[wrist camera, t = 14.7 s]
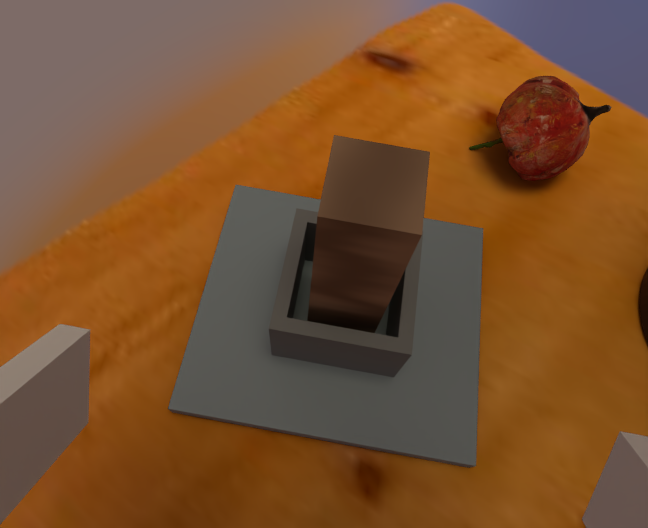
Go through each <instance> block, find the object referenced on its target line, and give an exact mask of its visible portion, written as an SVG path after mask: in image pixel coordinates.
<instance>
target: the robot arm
mask: <svg viewBox="0 0 648 528" xmlns="http://www.w3.org/2000/svg"><path fill="white" fill-rule="evenodd" d="M640 315H641V321H642V326H643V330H644V333H645V336H646V339H647V341H648V270H647V272H646V274H645V276H644V279H643V282H642V286H641V291H640ZM89 359H90V330H89V329H84V328H79V327H74V326H68V325H63V324H59V325H58V326H56V327H55V328H54V329H52V330H51V331H49V332H48V333H47V334H45V335H44V336H43V337H41V338H40V339H39V340H37V341H36V342H34V343H33V344H32V345H30V346H29V347H28V348H26V349H25V350H23V351H22V352H21V353H19V354H18V355H17V356H15V357H14V358H12V359H11V360H10V361H8V362H7V363H6V364H4V365H3V366H1V367H0V524H1V523H2V522H3V521H4V520H5V518H6V517H7V516H8V515H9V514H10V513H11V512H12V510H13V509H14V508H15V507H16V506H17V505H18V503H19V502H20V501H21V500H22V499H23V498H24V496H25V495H26V494H27V493H28V492H29V491H30V490H31V488H32V487H33V486H34V485H35V484H36V483H37V481H38V480H39V479H40V478H41V477H42V476H43V474H44V473H45V472H46V471H47V470H48V469H49V467H50V466H51V465H52V464H53V463H54V462H55V461H56V459H57V458H58V457H59V456H60V455H61V454H62V452H63V451H64V450H65V449H66V448H67V447H68V445H69V444H70V443H71V442H72V441H73V440H74V439H75V437H76V436H77V435H78V434H79V433H80V432H81V430H82V429H83V428H84V427H85V426H86V425H87V423H88V410H89ZM582 520H583V522H584V524H585V526H586V528H648V437H647V436H642V435H637V434H631V433H626V432H621V431H620V432H619V435H618V437H617V439H616V442H615V444H614V446H613V449H612V451H611V453H610V456H609V458H608V460H607V463H606V465H605V467H604V469H603V472H602V474H601V476H600V479H599V481H598V483H597V486H596V488H595V490H594V493H593V495H592V497H591V500H590V502H589V504H588V507H587V509H586V511H585V514H584V516H583V518H582Z"/></svg>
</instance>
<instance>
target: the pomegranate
mask: <svg viewBox="0 0 648 528" xmlns="http://www.w3.org/2000/svg"><path fill="white" fill-rule="evenodd" d="M610 109H611V107H610V106H609V105H604V106H600V107H587V106H585V105H583V104H582V103H581V102H580V100H579V94H578V93H577V92H576V91H575V90H574V89H573V88H572V87H571V86H569V85H568V84H567V83H565V82H563V81H561V80H560V79H558V78H556V77H554V76H539V77H535V78H532V79H529V80H527V81H525V82H524V83H523V84H522V85H520V86H519V87H518V88H517V89H516V90H515V91H514V92H512V93H511V94H510V95H509V96H508V97H507V98H506V99H505V101H504V103H503V104H502V106H501V109H500V112H499V115H498V117H497V120H496V121H497V126H498V129H499V131H500V135H501V138H500V139H497V140H494V141H491V142H487V143H483V144H479V145H475V146H472V147H469V149H470V150H475V149H480V148H483V147H492V146H493V145H495V144H498V143H502V142H504V145H505V147H506V148H507V150H508V153H509V158H508V161H509V164H510V165H511V167H512V168H513V169H515V171H517V173H518V175H519V176H520V178H521V179H524V180H532V181H534V180H541V179H548V178H551V177H554V176H557V175H558V174H560V173H562V172H564V171H565V170H567V169H568V168H569V167H571V166H572V165H573V164H574V163H575V162H576V161H577V160H578V159H579V158H580V157H581V156H582V155H583V153H584V151H585V149H586V147H587V145H588V141H589V125H590V123H591V121H592V120H593V119H594V118H595V117H596V116H598V115H600V114H602V113H605V112H609V111H610Z"/></svg>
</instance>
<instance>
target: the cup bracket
mask: <svg viewBox="0 0 648 528" xmlns="http://www.w3.org/2000/svg"><path fill="white" fill-rule="evenodd" d="M320 201H321V200H320V199H314V198H308V197H303V196H297V195H291V194H286V193H280V192H275V191H269V190H263V189H258V188H252V187H246V186H241V185H236V186H235V189H234V192H233V196H232V199H231V202H230V205H229V209H228V212H227V215H226V219H225V222H224V225H223V229H222V232H221V235H220V238H219V242H218V245H217V248H216V252H215V255H214V258H213V262H212V265H211V268H210V271H209V275H208V278H207V281H206V285H205V288H204V291H203V295H202V298H201V301H200V304H199V308H198V311H197V314H196V318H195V321H194V324H193V328H192V331H191V334H190V338H189V341H188V344H187V347H186V351H185V354H184V357H183V361H182V364H181V367H180V371H179V374H178V377H177V380H176V384H175V387H174V390H173V394H172V397H171V400H170V404H169V407H168V409H169V410H170V411H171V412H174V413H179V414H184V415H190V416H195V417H201V418H206V419H211V420H217V421H222V422H227V423H233V424H238V425H243V426H249V427H254V428H259V429H265V430H270V431H276V432H281V433H286V434H292V435H297V436H302V437H308V438H313V439H318V440H324V441H329V442H334V443H340V444H345V445H351V446H356V447H361V448H367V449H372V450H377V451H383V452H388V453H393V454H399V455H404V456H409V457H415V458H420V459H426V460H431V461H436V462H442V463H447V464H452V465H458V466H463V467H468V468H470V467H474V466H476V446H477V413H478V379H479V346H480V313H481V279H482V246H483V228H477V227H472V226H466V225H460V224H455V223H449V222H443V221H438V220H432V219H427V218H424V219H423V230H422V236H421V238H420V240H419V242H418V244H417V246H416V249H415V251H414V253H413V255H412V257H411V259H410V261H409V263H408V265H407V267H406V269H405V271H404V273H403V275H402V277H401V279H400V282H399V284H398V286H397V288H396V290H395V292H394V294H393V296H392V298H391V300H390V302H389V304H388V306H387V308H386V310H385V312H384V315H383V317H382V319H381V321H380V323H379V325H378V327H377V329H376V331H375V333H370V332H365V331H359V330H354V329H348V328H343V327H337V326H332V325H326V324H321V323H315V322H310V321H307V320H308V309H309V299H310V289H311V278H312V268H313V257H314V247H315V236H316V226H317V216H318V211H319V206H320Z"/></svg>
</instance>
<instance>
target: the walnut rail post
mask: <svg viewBox="0 0 648 528" xmlns="http://www.w3.org/2000/svg"><path fill="white" fill-rule="evenodd" d="M429 155H430V152H427V151H422V150H416V149H410V148H404V147H399V146H393V145H387V144H382V143H376V142H370V141H364V140H359V139H353V138H347V137H342V136H336V135H334V138H333V143H332V148H331V153H330V158H329V163H328V168H327V172H326V177H325V182H324V187H323V192H322V197H321V201H320V206H319V211H318V216H317V226H316V236H315V247H314V257H313V268H312V278H311V289H310V299H309V309H308V320H307V321H310V322H315V323H321V324H326V325H332V326H337V327H343V328H348V329H354V330H359V331H365V332H370V333H375V331H376V329H377V327H378V325H379V323H380V321H381V319H382V317H383V315H384V312H385V310H386V308H387V306H388V304H389V302H390V300H391V298H392V296H393V294H394V292H395V290H396V288H397V286H398V284H399V282H400V279H401V277H402V275H403V273H404V271H405V269H406V267H407V265H408V263H409V261H410V259H411V257H412V255H413V253H414V251H415V249H416V246H417V244H418V242H419V240H420V238H421V236H422V230H423V219H424V209H425V198H426V187H427V177H428V166H429Z"/></svg>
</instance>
